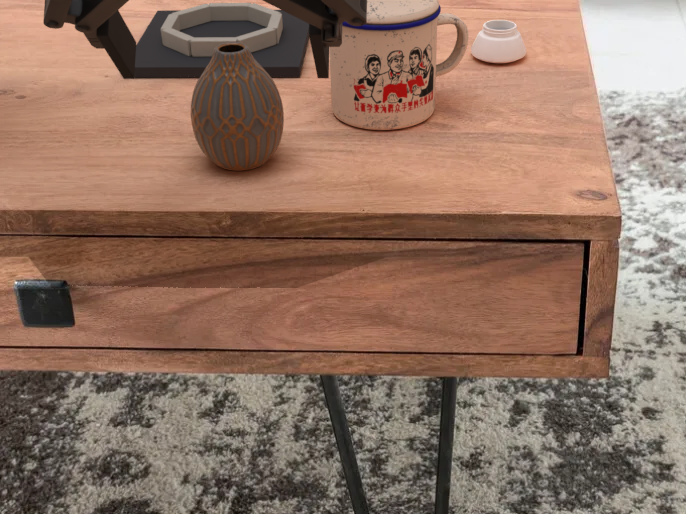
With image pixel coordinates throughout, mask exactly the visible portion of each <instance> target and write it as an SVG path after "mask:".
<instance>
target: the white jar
mask: <svg viewBox="0 0 686 514" xmlns="http://www.w3.org/2000/svg"><path fill="white" fill-rule="evenodd" d="M470 53H471V56H473V57H474V58H476V59H477V60H479V61H482V62H485V63H490V64H509V63H513V62H515V61H518V60H520V59H523V58H524V57H525V56H526V55H527V47H526V44H525V42H524V39H523V37H522V35H521V32H520V31H519V30H518V26H517V23H516V22H514V21H512V20H507V19H491V20H488V21H485V22H484V23H483V24H482V29H481V30H480V31H479V32H478V33H477V35H476V37H475V39H474V40H473V43H472V45H470Z"/></svg>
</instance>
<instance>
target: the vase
mask: <svg viewBox="0 0 686 514" xmlns="http://www.w3.org/2000/svg"><path fill="white" fill-rule="evenodd" d="M191 95H192V96H191V101H190V121H191V126H192V132H193V135H194V138H195V141H196V143H197V145H198V147H199V148H200V150H201V152H202V154H204V156H205V157H206V158H207V159H208V160H210V161H211V162H212V163H213V164H215V165H216V166H218V167H219V168H221V169H224V170H229V171H238V172H239V171H241V172H242V171H248V170H254V169H257V168H259V167H261V166H263V165H265V164H266V163H267V162H268V161H269V160H270V159H271V157H272V156H273V155H274V154H275V152H276V151H277V149H278V148H279V145H280V143H281V140H282V137H283V134H284V133H283V131H284V125H285V124H284V123H285V116H284V114H285V113H284V107H283V106H284V105H283V100H282V98H281V94H280V91H279V89H278V87H277V84H276V83H275V81H274V79H273V77H270V75H269V74H268V73H267V72H266V71H265V70H264V69H263V67H262V66H261V65H260V64H259V63H258V62H257V61H256V60H255V59H254V57H253V56H252V54H251V52H250V50H249V48H248V47H247V45H245V44H243V43H239V42H228V43H223V44H220V45H218V46H216V47H215V49H214V52H213V55H212V58H211V61H210V63H209V64H208V66H207V67H206V69H205V70H204V72H203V73H202V75H201V76H200V78H198V79H197V81H196V83H195V86H194V88H193V92H192V94H191Z"/></svg>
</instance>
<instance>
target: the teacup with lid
mask: <svg viewBox="0 0 686 514" xmlns="http://www.w3.org/2000/svg"><path fill="white" fill-rule="evenodd" d="M441 10H442V7H441V5H440V1H439V0H367V22H366V24H365V25H363V26H352V25H350V24H348V23H347V22H346V21H345V22H343V23H342V44H341V45H340V47H329V75H330V97H331V100H330V101H331V102H330V103H331V111H332V113H333V115H334V116H335V117H336V118H337V119H338V120H340V121H341V122H343V123H344V124H346V125H349V126H351V127H355V128H360V129H365V130H371V131H372V130H373V131H390V130H391V131H392V130H399V129H405V128H410V127H413V126H416V125H419V124H421V123H423V122H425V121H426V120H428V119H429V118H431V116H432V114H434V111H435V109H436V88H437V87H436V85H437V84H436V82H437V77H440V76H444V75H446V74H448V73H450V72H452V71H453V70H454V69H456V68H457V66H458V65H460V63H461V61H462V59H463V58H464V56H465V54H466V51H467V48H468V44H469V29H468V26H467V24H466V22H465V21H463V19H461V18H460V17H459V16H458V15H456V14H452V13H450V12H449V13H448V12H442V13H441ZM443 25H454V26H455V28H456V41H455V44H454V47H453V49H452V51H451V53H450V55H448V57H447V58H446V59H444V61H442V62H440V63H437V49H438V47H437V45H438V44H437V43H438V26H443Z"/></svg>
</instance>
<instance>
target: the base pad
mask: <svg viewBox="0 0 686 514" xmlns="http://www.w3.org/2000/svg"><path fill="white" fill-rule="evenodd" d="M228 42H239V43H243V44H245V45H247V47H248V48H249V50H250V52H251V54H252V56H253V57H254V59H255V60H256V61H257V62H258V63H259V64H260V65H261V66H262V67H263V69H264V70H265V71H266V72H267V73H268V74H269V75H270V77H271V78H300V77H301V74H302V69H303V65H304V62H305V58H306V53H307V48H308V46H309V45H308V44H309V42H310V38H309V23H307V22H305V21H303V20H301V19H299V18H297V17H295V16H293V15H291V14H289V13H287V12H285V11H283V10H281V9H272V8H269V7H266V6H264V5H261V4H257V3H255V2H253V3H251V2H210V3H202V4H199V5H195V6H192V7H189V8H188V7H187V8H185V9H182V10H181V9H178V10H177V9H176V10H175V9H174V10H173V9H171V10H167V9H166V10H165V9H164V10H157V11H156V12H155V14H154V16H153V17H152V19H151V21H150V22H149V24H148V25H147V26H146V28H145V30H144V31H143V33H142V34H141V37H140V38H139V40H138V42H136V57H135V76H134V79H147V78H148V79H153V78H154V79H163V78H164V79H168V78H169V79H177V78H178V79H180V78H181V79H182V78H183V79H185V78H187V79H188V78H189V79H191V78H193V79H194V78H195V79H196V78H197V79H199V78H200V76H201V75H202V73H203V72H204V70H205V69H206V67H207V66H208V64H209V63H210V61H211V58H212V55H213V52H214V49H215V47H216V46H218V45H220V44H223V43H228Z"/></svg>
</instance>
